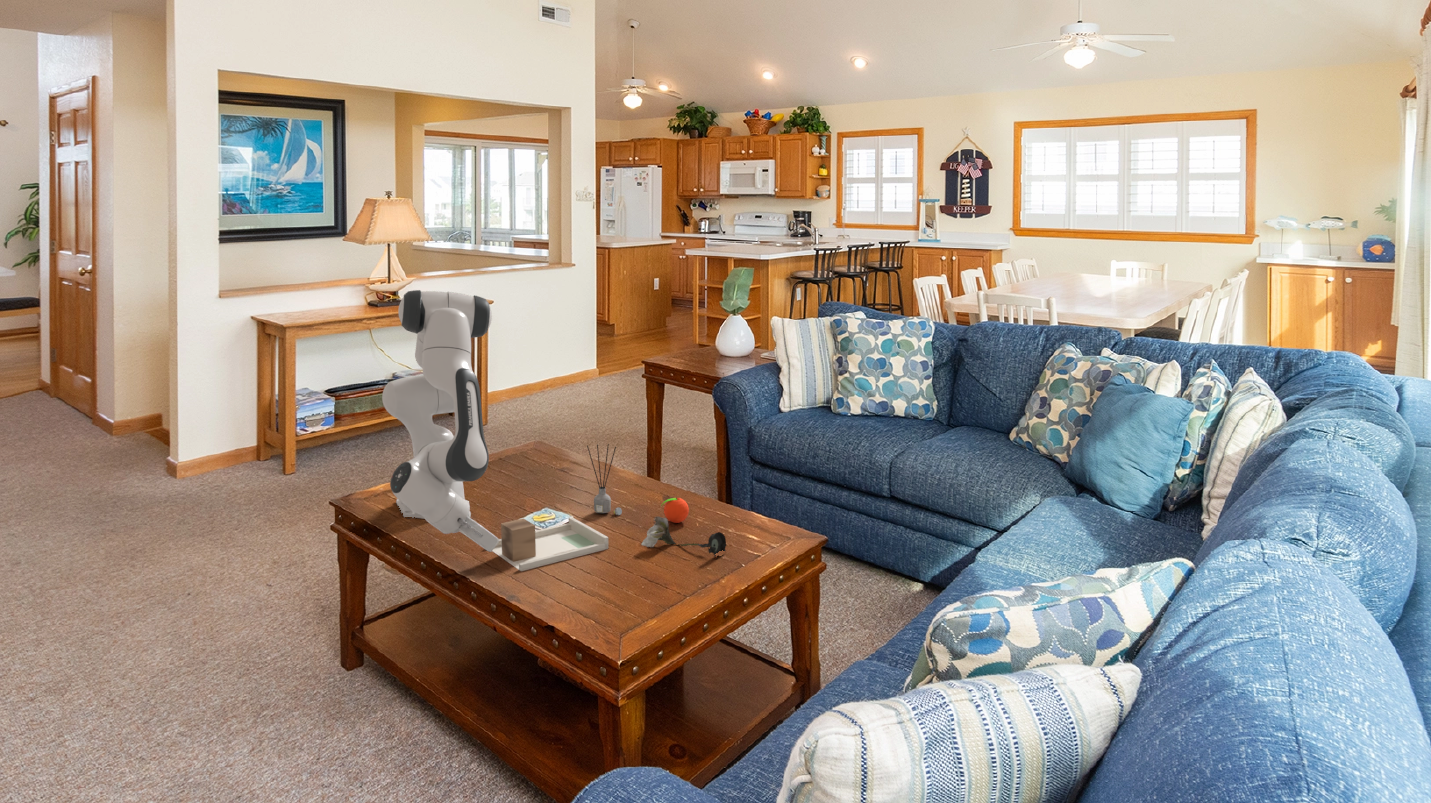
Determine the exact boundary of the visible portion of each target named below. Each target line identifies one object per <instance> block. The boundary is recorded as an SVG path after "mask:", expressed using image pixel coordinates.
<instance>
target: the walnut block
mask: <svg viewBox="0 0 1431 803" xmlns="http://www.w3.org/2000/svg"><path fill="white" fill-rule="evenodd" d="M535 531H536V525H535V524H533V523H532V522H530V521H529V520H527V519H525V518H524V517H523V518H518V519H514V520H510V521H505V522H501V523H500V532H501V539H502V555H504V556H505V557H507V558H508V559H510V560H511V561H513V562H515V561H519V560H523V559H527V558H531V557H535V556H536V543H535Z"/></svg>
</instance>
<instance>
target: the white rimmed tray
mask: <svg viewBox="0 0 1431 803" xmlns="http://www.w3.org/2000/svg"><path fill="white" fill-rule="evenodd" d="M498 539H499V542H498V544H497V545H496V547H495V548H494V549H493V550H492V551H491V552H493V553H495V554H496V555H498V556H499V557H500V558H502V559H503V560H504V561H505V562H507V563H509V564H510V565H511V566H513V567H514V568H515V569H517V570H518V571H520V572H524V571H528V570H531V569H535V568H538V567H539V568H540V567H542V566H546V565H551V564H554V563H558V562H561V561H566V560H570V559H573V558H577V557H581V556H585V555H589V554H593V553H598V552H601V551H605V550H608V549H609V536H607V535H605V534H603V533H601V532H600V531H598V530H596V529H594V528H593V527H591V526H589V525H587V524H586V523H584V522H582V521H580V520H579V519H576V518H575V517H573V516H571V517H568V523H564V524H560V525H555V526H550V527H545V528H542V529H538V530H535V544H536V556H535V557H531V558H527V559H523V560H519V561H515V562H513V561H511V560H510V559H508V558H507V557H505V556H504V555H502V538H498Z"/></svg>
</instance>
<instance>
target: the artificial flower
mask: <svg viewBox="0 0 1431 803" xmlns="http://www.w3.org/2000/svg"><path fill="white" fill-rule="evenodd" d="M708 538H709V539H708V543H702V544H701V543H696V542H695V543H684V544H683V543H682V544H681V543H679V544H678V543H676V542H675V541H674V540H673V537H672V536H671V533H670V525H669V520H668V519H667V518H666V517H662V516H661V517H660V516H655V517H654V518H653V526H652V527H650V528H649V529H648V530H646V537H645V538H644V539H643V541H642V542H641V546H643V547H644V546H645V547H647V548H649V547H650V548H654V547H655V545H656V544H657V543H658V541H663V542H664V543H665V544H666V545H671V544H678V545H681V546H680V547H687V546H695V547H696V546H699V547H701V548H707V550H708V551H707V552H708V553H709V554H712V555H714V556H713V557H714V558H715V557H716V555H715V554H716V553H718V552H719V551H722V550H723V551H725V552H726V551H727V550H726V547H727V540H726V536H725V534H724V533H722V532H715V533H713V534H710V537H708ZM678 545H677V546H678Z"/></svg>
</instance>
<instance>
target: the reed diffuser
mask: <svg viewBox="0 0 1431 803" xmlns="http://www.w3.org/2000/svg"><path fill="white" fill-rule="evenodd" d="M609 445H610V444H609V443H607V446H606V447H607V449H606V457H605V467H604V474H603V482H602V476H601V475H602V473H601V465H600V464H601V463H600V462H601V461H600V453H599V444H598V443H596V449H597V458H598V459H597V460H598V470H599V471H598V472H599V479H598V476H597V472H596V468H595V466H594V465H595V464H594V462H593V458H592V455H591V452H590V448H589V445H586V447H587V451H588V453H589V457H590V461H591V465H592V467H593V470H594V473H595V478H596V480H597V483H598V493H597V495H595V496H594V498H593V508H594V509H593V510H594V512H595V513H597V514H607V513H610V512H611V510H612V509H611V508H612V507H611V506H612V505H611V502H612V498H611V496H610V495H609V494H607V492H606V491H607V490H606V488H607V487H606V486H607V482H608V478H609V474H610V471H611V467H612V463H613V459H614V456H615V452H616V449H617V446H614V450H613V454H612V457H611V459H610V464H609V468H608V472H607V475H606V471H607V462H608V454H609ZM602 483H603V484H602ZM622 512H623V510H622V508H621V507H616V508H614V510H613V514H614V515H616V516H620V515H622V514H623V513H622Z"/></svg>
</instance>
